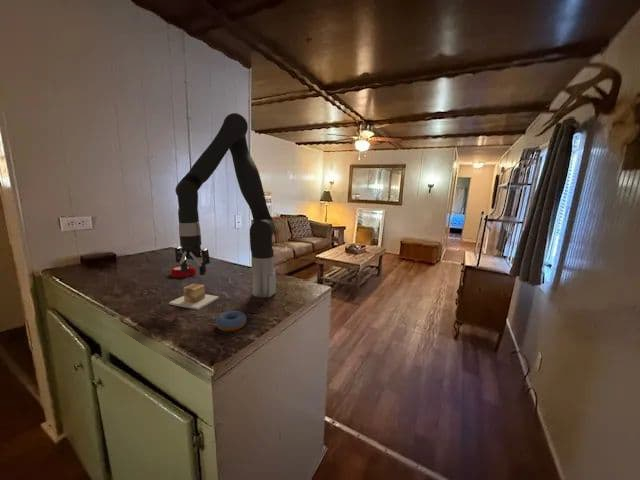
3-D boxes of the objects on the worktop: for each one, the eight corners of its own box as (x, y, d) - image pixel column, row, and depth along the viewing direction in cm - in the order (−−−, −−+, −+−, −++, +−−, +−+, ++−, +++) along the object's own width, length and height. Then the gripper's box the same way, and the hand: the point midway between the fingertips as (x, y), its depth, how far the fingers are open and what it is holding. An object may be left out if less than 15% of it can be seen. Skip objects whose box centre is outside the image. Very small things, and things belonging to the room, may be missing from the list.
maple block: (205, 297, 114) (204, 285, 113) (195, 302, 109) (194, 289, 108) (194, 296, 116) (193, 283, 115) (184, 300, 110) (183, 287, 109)
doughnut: (208, 328, 91) (209, 315, 90) (228, 317, 100) (229, 305, 99) (233, 337, 87) (234, 324, 87) (251, 325, 97) (252, 313, 96)
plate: (218, 298, 116) (218, 296, 116) (198, 309, 105) (198, 307, 104) (191, 293, 120) (191, 291, 120) (169, 304, 109) (169, 302, 109)
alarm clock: (181, 264, 152) (200, 262, 145) (184, 275, 153) (202, 273, 146) (164, 268, 143) (182, 266, 136) (166, 280, 144) (185, 279, 137)
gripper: (212, 233, 108) (214, 272, 111) (182, 231, 112) (186, 269, 115) (198, 236, 101) (202, 278, 104) (167, 234, 105) (171, 275, 108)
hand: (193, 273), depth 110 cm, fingers open, 8 cm apart
